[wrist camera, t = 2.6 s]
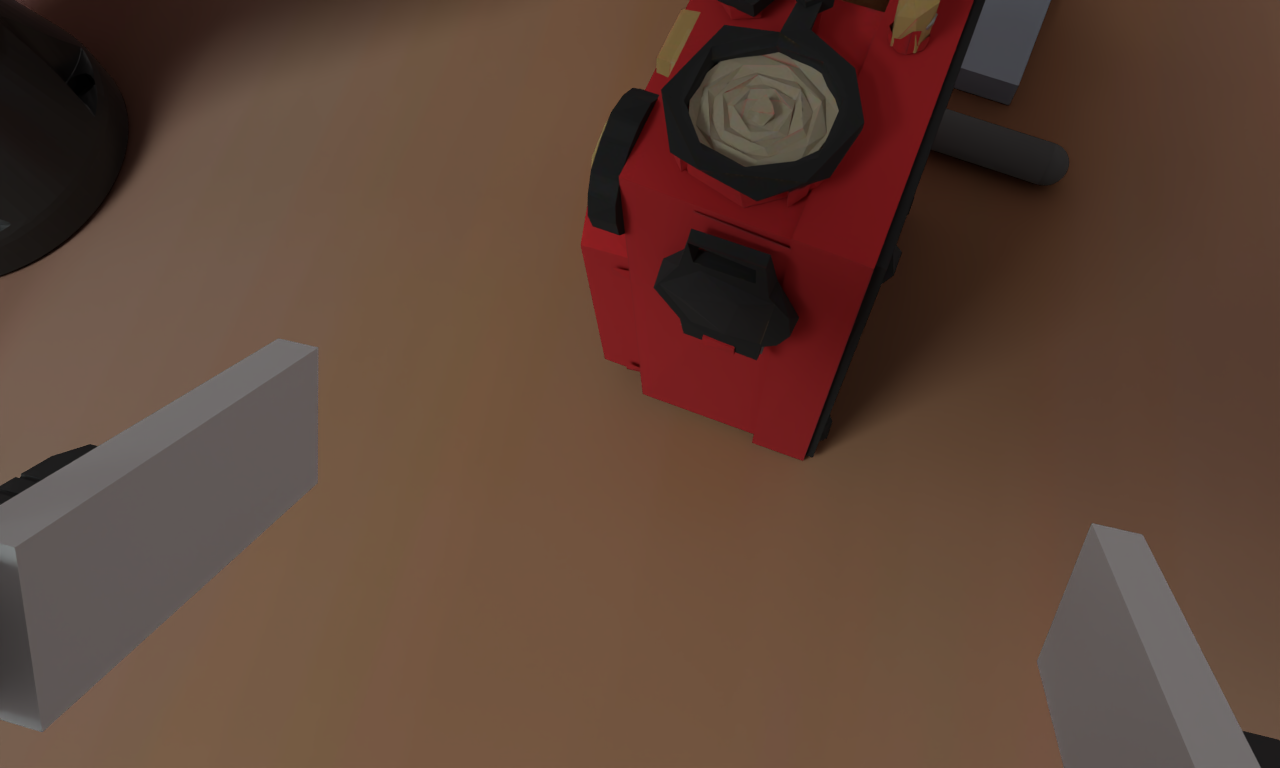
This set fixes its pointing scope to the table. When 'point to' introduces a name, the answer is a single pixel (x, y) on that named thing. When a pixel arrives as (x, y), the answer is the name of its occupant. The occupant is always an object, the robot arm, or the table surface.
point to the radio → (765, 200)
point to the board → (1001, 48)
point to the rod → (1000, 149)
